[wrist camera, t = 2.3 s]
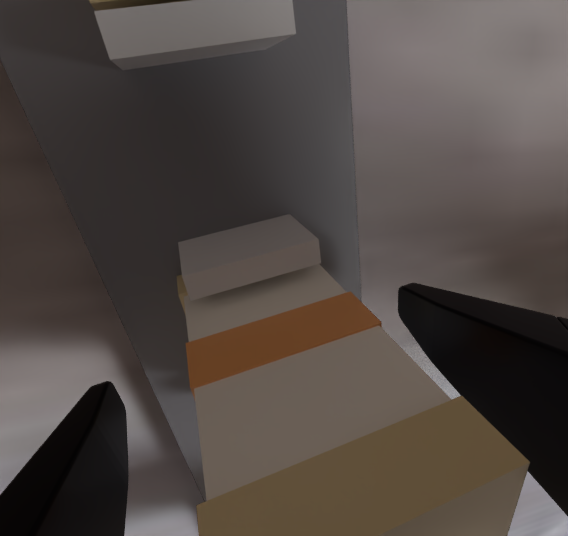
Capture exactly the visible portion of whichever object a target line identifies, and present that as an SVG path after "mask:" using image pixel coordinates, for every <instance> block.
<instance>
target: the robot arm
mask: <svg viewBox="0 0 568 536" xmlns="http://www.w3.org/2000/svg"><path fill="white" fill-rule="evenodd" d="M398 313H399V316H400V318H401V320H402V321H403V323H404V324H405V326H406V327H407V328H408V330H409V331H410V333H411V334H412V335H413V337H414V338H415V340H416V341H417V343H418V344H419V345H420V347H421V348H422V350H423V351H424V352H425V354H426V355H427V356H428V358H429V359H430V360H431V362H432V363H433V364H434V365H435V366H436V368H437V369H438V370H439V371H440V372H441V373H442V374H443V375H444V377H445V378H446V379H447V380H448V381H449V382H450V383H451V385H452V386H453V387H454V388H455V389H456V390H457V391H458V392H459V394H460V395H461V396H463V397H464V398H465V399H466V400H467V401H468V402H469V403H470V404H471V405H472V406H473V407H474V408H475V409H476V410H477V411H478V412H479V413H480V414H481V415H482V416H483V417H484V418H485V419H486V420H487V421H488V422H489V423H490V424H491V425H492V426H494V427H495V428H496V429H497V430H498V431H499V432H500V433H501V434H502V435H503V436H504V437H505V438H506V439H507V440H508V441H509V442H510V443H511V444H512V445H513V446H514V447H515V448H516V449H517V450H518V451H519V452H520V453H521V454H522V455H523V456H524V457H525V458H526V459H527V460H528V461H529V462H530V464H529V467H528V470H527V471H528V472H529V473H530V474H531V475H532V476H533V477H534V479H535V480H536V481H537V482H538V483H539V484H540V485H541V486H542V488H543V489H544V490H545V491H546V492H547V493H548V494H549V496H550V497H551V498H552V499H553V500H554V501H555V502H556V503H557V505H558V506H559V507H560V508H561V509H562V510H563V511H564V513H565V514H566V515H567V516H568V319H566V318H562V317H557V318H556V317H555V316H553V315H549V314H544V313H540V312H536V311H532V310H527V309H523V308H519V307H514V306H510V305H506V304H502V303H497V302H493V301H489V300H485V299H480V298H476V297H472V296H468V295H463V294H459V293H455V292H451V291H446V290H442V289H438V288H434V287H429V286H425V285H421V284H417V283H410V284H407V285H404V286H401V287H400V288H399V290H398ZM127 492H128V447H127V422H126V410H125V406H124V404H123V402H122V400H121V398H120V396H119V394H118V392H117V390H116V389H115V387H114V385H113V384H112V383H111V382H109V381H106V382H103V383H100V384H97V385H94V386H92V387H90V388H89V389H88V390H87V392H86V393H85V394H84V395H83V396H82V398H81V399H80V400H79V401H78V402H77V404H76V405H75V406H74V407H73V408H72V410H71V411H70V412H69V413H68V414H67V416H66V417H65V418H64V419H63V420H62V422H61V423H60V424H59V425H58V426H57V428H56V429H55V430H54V431H53V432H52V434H51V435H50V436H49V437H48V438H47V440H46V441H45V442H44V443H43V444H42V446H41V447H40V448H39V449H38V450H37V452H36V453H35V454H34V455H33V456H32V458H31V459H30V460H29V461H28V462H27V464H26V465H25V466H24V467H23V468H22V470H21V471H20V472H19V473H18V474H17V476H16V477H15V478H14V479H13V480H12V481H11V483H10V484H9V485H8V486H7V487H6V489H5V490H4V491H3V492H2V493H1V495H0V536H124V531H125V518H126V505H127Z"/></svg>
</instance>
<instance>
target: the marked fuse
mask: <svg viewBox="0 0 568 536" xmlns="http://www.w3.org/2000/svg"><path fill="white" fill-rule="evenodd" d="M177 287H178V295H179V298H180V301H181V304H182V307H183V310H184V312H185V315H186V323H187V331H188V340H189V342H188V343H186V352H187V362H188V372H189V382H190V389H191V391H192V394H193V397H194V399H195V402H196V411H197V420H198V429H199V438H200V447H201V456H202V465H203V473H204V482H205V491H206V500H207V501H205V502H203V503H201V504H198V505H196V508H197V519H198V531H199V536H507V534H508V531H509V528H510V525H511V522H512V518H513V515H514V512H515V509H516V506H517V502H518V499H519V496H520V493H521V489H522V486H523V483H524V480H525V477H526V473H527V470H528V467H529V464H530V462H529V461H528V460H527V459H526V458H525V457H524V456H523V455H522V454H521V453H520V452H519V451H518V450H517V449H516V448H515V447H514V446H513V445H512V444H511V443H510V442H509V441H508V440H507V439H506V438H505V437H504V436H503V435H502V434H501V433H500V432H499V431H498V430H497V429H496V428H495V427H494V426H492V425H491V424H490V423H489V422H488V421H487V420H486V419H485V418H484V417H483V416H482V415H481V414H480V413H479V412H478V411H477V410H476V409H475V408H474V407H473V406H472V405H471V404H470V403H469V402H468V401H467V400H466V399H465V398H464V397H463V396H460V397H457V398H455V399H452V400H451V399H450V398H449V397H448V396H447V395H446V394H445V393H444V391H443V390H442V389H441V388H440V387H439V386H438V385H437V384H436V383H435V382H434V381H433V380H432V379H431V378H430V377H429V376H428V375H427V374H426V373H425V372H424V371H423V370H422V369H421V368H420V367H419V366H418V365H417V364H416V363H415V362H414V361H413V360H412V359H411V358H410V357H409V356H408V355H407V354H406V353H405V351H404V350H403V349H402V348H401V347H400V346H399V345H398V344H397V343H396V342H395V341H394V340H393V339H392V338H391V337H390V336H389V335H388V334H387V333H386V332H385V331H384V330H383V329H382V328H381V321H380V320H379V319H378V318H377V317H376V316H375V315H374V314H373V313H372V312H371V311H370V310H369V309H368V308H367V307H366V306H365V305H364V304H363V303H362V302H361V301H360V300H359V299H358V298H357V297H356V296H355V295H354V294H353V293H352V292H351V291H350V292H346V291H345V290H344V289H343V288H342V287H341V286H340V285H339V284H338V283H337V282H336V281H335V280H334V279H333V278H332V277H331V276H330V275H329V274H328V272H327V271H326V270H325V269H324V268H323V267H322V266H321V265H320V264H316V265H313V266H309V267H306V268H302V269H299V270H296V271H292V272H289V273H285V274H282V275H278V276H275V277H271V278H268V279H265V280H261V281H258V282H254V283H251V284H247V285H244V286H240V287H237V288H233V289H230V290H227V291H223V292H220V293H216V294H213V295H209V296H206V297H202V298H199V299H196V300H192V301H190V299H189V296H188V293H187V290H186V287H185V284H184V281H183V278H182V275H179V276H177Z"/></svg>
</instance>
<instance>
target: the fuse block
mask: <svg viewBox="0 0 568 536" xmlns="http://www.w3.org/2000/svg"><path fill="white" fill-rule="evenodd" d="M0 60H1V62H2V64H3V66H4V69H5V71H6V73H7V75H8V77H9V79H10V82H11V84H12V86H13V88H14V90H15V92H16V95H17V97H18V99H19V101H20V103H21V105H22V108H23V110H24V112H25V114H26V116H27V118H28V120H29V123H30V125H31V127H32V129H33V131H34V133H35V136H36V138H37V140H38V142H39V144H40V146H41V149H42V151H43V153H44V155H45V157H46V159H47V162H48V164H49V166H50V168H51V170H52V172H53V175H54V177H55V179H56V181H57V183H58V185H59V188H60V190H61V192H62V194H63V196H64V198H65V201H66V203H67V205H68V207H69V209H70V211H71V213H72V216H73V218H74V220H75V222H76V224H77V226H78V229H79V231H80V233H81V235H82V237H83V239H84V242H85V244H86V246H87V248H88V250H89V252H90V255H91V257H92V259H93V261H94V263H95V265H96V268H97V270H98V272H99V274H100V276H101V278H102V281H103V283H104V285H105V287H106V289H107V291H108V294H109V296H110V298H111V300H112V302H113V304H114V306H115V309H116V311H117V313H118V315H119V317H120V319H121V322H122V324H123V326H124V328H125V330H126V332H127V335H128V337H129V339H130V341H131V343H132V345H133V348H134V350H135V352H136V354H137V356H138V358H139V361H140V363H141V365H142V367H143V369H144V371H145V374H146V376H147V378H148V380H149V382H150V384H151V386H152V389H153V391H154V393H155V395H156V397H157V399H158V402H159V404H160V406H161V408H162V410H163V412H164V415H165V417H166V419H167V421H168V423H169V425H170V428H171V430H172V432H173V434H174V436H175V438H176V441H177V443H178V445H179V447H180V449H181V451H182V454H183V456H184V458H185V460H186V462H187V464H188V467H189V469H190V471H191V473H192V475H193V477H194V479H195V482H196V484H197V486H198V488H199V490H200V492H201V495H202V497H203V499H204V501H207V500H206V491H205V482H204V473H203V465H202V456H201V447H200V438H199V429H198V420H197V411H196V402H195V399H194V397H193V394H192V391H191V389H190V382H189V372H188V362H187V352H186V343H188V342H189V340H188V331H187V323H186V315H185V312H184V310H183V307H182V304H181V301H180V298H179V295H178V287H177V276H179V275H182V278H183V281H184V284H185V287H186V290H187V293H188V296H189V299H190V301H192V300H196V299H199V298H202V297H206V296H209V295H213V294H216V293H220V292H223V291H227V290H230V289H233V288H237V287H240V286H244V285H247V284H251V283H254V282H258V281H261V280H265V279H268V278H271V277H275V276H278V275H282V274H285V273H289V272H292V271H296V270H299V269H302V268H306V267H309V266H313V265H316V264H320V265H321V266H322V267H323V268H324V269H325V270H326V271H327V272H328V274H329V275H330V276H331V277H332V278H333V279H334V280H335V281H336V282H337V283H338V284H339V285H340V286H341V287H342V288H343V289H344V290H345V291H346V292H350V291H351V292H352V293H353V294H354V295H355V296H356V297H357V298H358V299H359V300H360V301H361V284H360V264H359V244H358V224H357V204H356V184H355V164H354V144H353V124H352V104H351V84H350V64H349V44H348V24H347V4H346V0H0Z"/></svg>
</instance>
